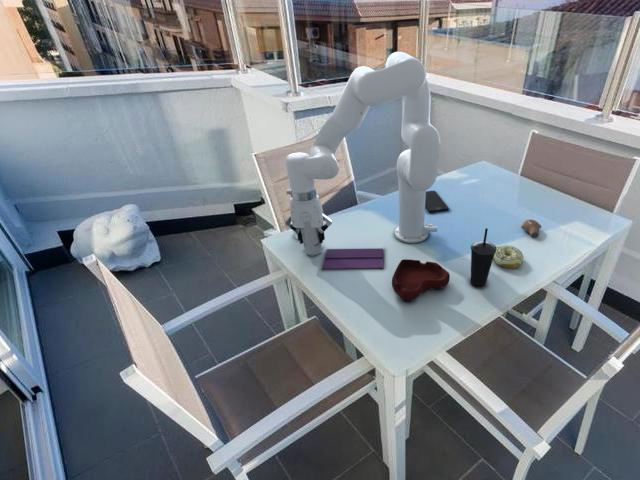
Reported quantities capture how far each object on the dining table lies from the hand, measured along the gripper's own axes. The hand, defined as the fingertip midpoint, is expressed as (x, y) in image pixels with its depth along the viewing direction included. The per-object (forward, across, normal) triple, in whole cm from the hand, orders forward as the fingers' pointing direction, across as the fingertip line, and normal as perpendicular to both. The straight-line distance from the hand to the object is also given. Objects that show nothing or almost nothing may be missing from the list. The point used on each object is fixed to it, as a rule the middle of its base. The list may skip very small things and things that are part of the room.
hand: (312, 241), depth 133 cm
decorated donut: (+5, +67, -7) cm, 68 cm away
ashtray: (+5, +35, -19) cm, 40 cm away
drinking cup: (+5, +55, -19) cm, 58 cm away
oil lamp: (+5, +81, +12) cm, 82 cm away
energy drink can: (+5, 0, 0) cm, 5 cm away
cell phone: (+4, +45, +37) cm, 58 cm away
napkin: (+4, +14, -5) cm, 16 cm away
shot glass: (+5, -6, +11) cm, 13 cm away
